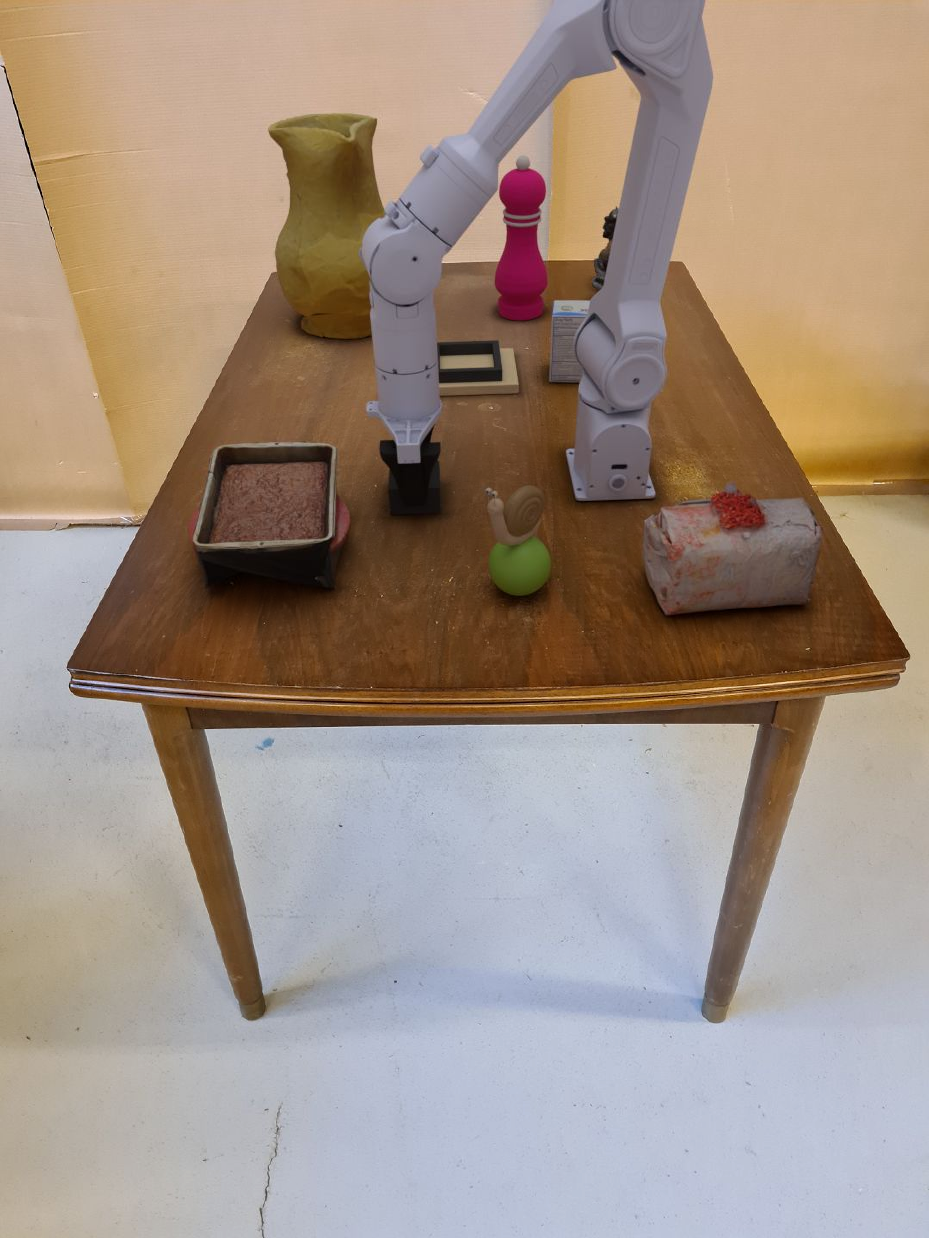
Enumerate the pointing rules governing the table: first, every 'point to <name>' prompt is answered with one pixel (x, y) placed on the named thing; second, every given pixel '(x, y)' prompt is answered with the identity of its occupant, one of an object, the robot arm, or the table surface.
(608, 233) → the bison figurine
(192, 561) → the table surface
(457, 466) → the table surface
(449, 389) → the base pad
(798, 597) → the food item
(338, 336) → the pitcher
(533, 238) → the pepper mill
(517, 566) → the snail figurine
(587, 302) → the medicine box
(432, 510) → the black block
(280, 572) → the baking dish
